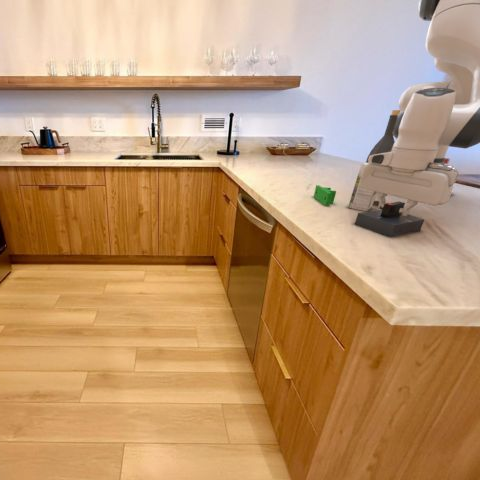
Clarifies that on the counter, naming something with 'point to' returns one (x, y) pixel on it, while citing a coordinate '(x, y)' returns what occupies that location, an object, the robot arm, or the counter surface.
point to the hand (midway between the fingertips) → (391, 212)
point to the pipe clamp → (324, 195)
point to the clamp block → (389, 223)
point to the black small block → (392, 209)
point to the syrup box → (361, 194)
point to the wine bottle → (385, 141)
